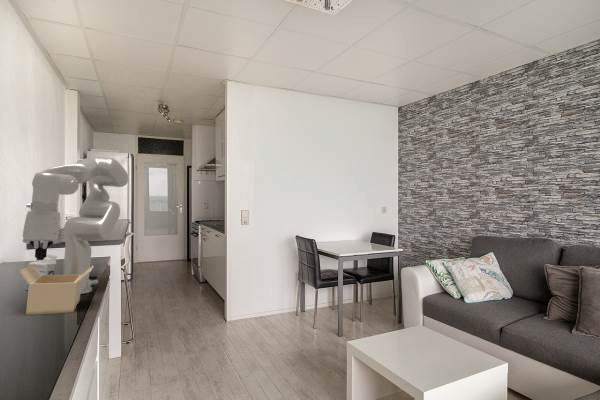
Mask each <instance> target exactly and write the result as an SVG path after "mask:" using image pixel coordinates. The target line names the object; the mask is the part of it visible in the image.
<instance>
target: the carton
mask: <svg viewBox="0 0 600 400" xmlns="http://www.w3.org/2000/svg"><path fill="white" fill-rule="evenodd" d="M80 277H81V275H63V274H55V275H40V276H39V277H38V278H36V279H35V280H34V281H32V282H31V283H30V284H29V289H28V291H27V300H26V301H27V302H26V311H25V316H31V315H47V314H48V315H49V314H50V315H51V314H65V313H66V314H69V313H74V312H75V310H76V309H77V307H76V306H78V305H79V303H80V301H81V294H80V292H81V281H82V280H81V281H79V282H78V283H77V281H78V279H79V278H80ZM77 304H78V305H77Z"/></svg>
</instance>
